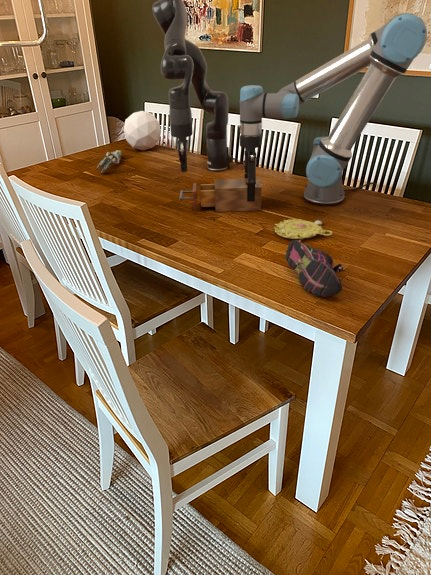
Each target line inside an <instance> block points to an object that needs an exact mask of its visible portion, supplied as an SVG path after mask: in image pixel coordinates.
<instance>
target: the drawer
mask: <svg viewBox="0 0 431 575" xmlns="http://www.w3.org/2000/svg"><path fill="white" fill-rule="evenodd" d="M199 187H200V190H199V192H200V207H201V208H210V207H211V208H215V207H216V205H215V183H206V184H205V183H203V184H201V183H200V186H199ZM184 194H192V196H191V197H184ZM184 200H185V201H186V200H187V201H188V200H190V201H191V200H192V203H193V204H192V205H193V210H197V209H198V188H197V182H194V183H192V190H183V189H181V190H180V192H179V201H180V202H182V201H184Z"/></svg>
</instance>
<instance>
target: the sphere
mask: <svg viewBox="0 0 431 575" xmlns="http://www.w3.org/2000/svg"><path fill="white" fill-rule="evenodd" d="M124 120H125V121H124V126H123V134H124V139H125V140H126V142H127V143H128V144H129V145H130V146H131V147H132V148H133V149H136V150H140V151H146V150H149V149H152V148H154V147H155V146H156V145H157V144H159V142H160V139H161V133H162V129H161V124H160V122H159V120H158V119H157V118H156V117H155V115H154V114H153V113H151V112H148V111H144V110H139V111H135V112H133V113H131V114H130V115H129V116H128V117H127V118H125V119H124Z"/></svg>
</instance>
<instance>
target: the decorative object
mask: <svg viewBox="0 0 431 575" xmlns="http://www.w3.org/2000/svg"><path fill="white" fill-rule="evenodd" d="M322 225H323V221H321V220H314V222H313V221H310V220H304V219H303V218H292V219H283V221H279V223H274V227H273V229H274V233H276V234H277V236H279V237H282V238H284V239H285V238H286V239H290V240H298V241H299V242H302V240H305V239H310V238H313V237H315V236H317V235H319V236H320V235H321V236H325V237H329V236H331V235H333V231H332V230H325V229H323V227H322ZM326 233H327V234H326Z"/></svg>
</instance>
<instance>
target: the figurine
mask: <svg viewBox="0 0 431 575" xmlns="http://www.w3.org/2000/svg"><path fill="white" fill-rule="evenodd" d="M122 153H123V152H122V150H115V151H111V152H110V151H107V152H106V153H105V155H106V156H104V157H103V158H102V159H101V161H100V162H99V163H98V165H97V167H96V169H97V170H100V173H101V174H104V173H105V172H106V171H107V170H108V169H109V168H110V167H111V166H112V165H119V164H120V160H121V158H122V157H123V154H122Z"/></svg>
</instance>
